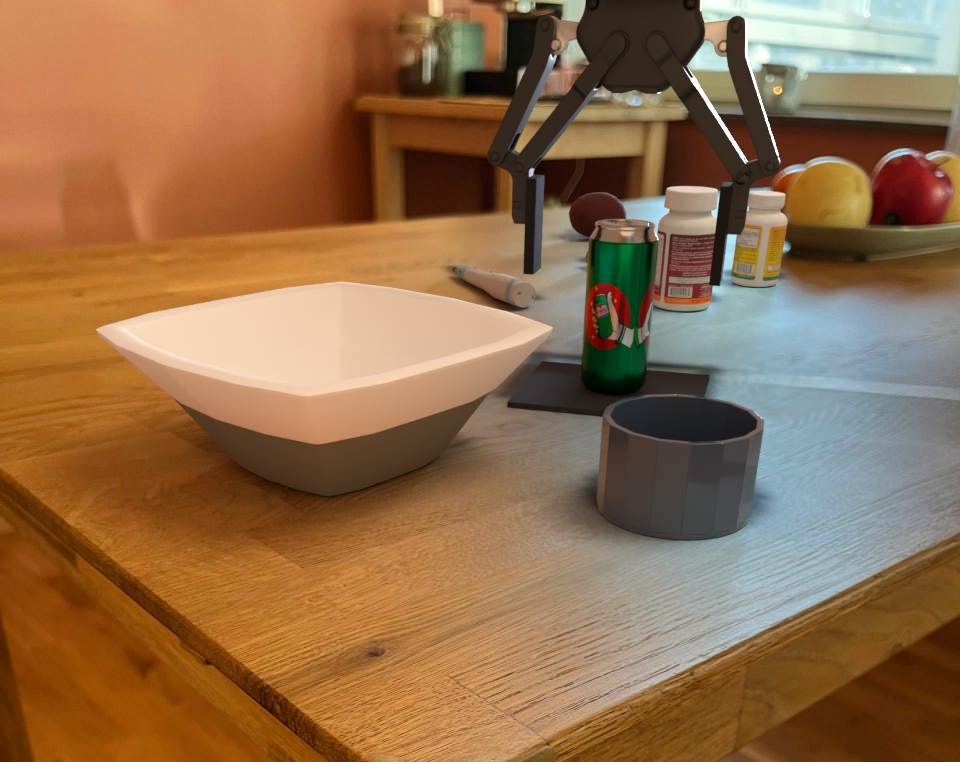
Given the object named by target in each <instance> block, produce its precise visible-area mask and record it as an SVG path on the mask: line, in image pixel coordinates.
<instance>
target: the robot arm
mask: <svg viewBox="0 0 960 762" xmlns="http://www.w3.org/2000/svg"><path fill="white" fill-rule="evenodd" d="M748 28H749V26H748V21H747V20H746V18H744V17H743V16H741V15H735V16H732V17H730V19H725V20H716V21H708V22H705V20H704V16H703V13H702V0H585V4H584V9H583V13H582V15H581V17H580V20H579V21H573V20H566V19H560V18H559V17H557V16H554V15H549V14H545V15H544V14H543V15H541V16H540V17H539V18H538V19H537V22H536V25H535V34H534V41H533V49H532V54H531V56H530V58H529V60H528V63H527V64H526V67H525V69H524V72H523V75H522V76H521V79H520V81H519V83H518V85H517V87H516V89H515V92H514V93H513V96H512V98H511V101H510V102H509V105H508V107H507V108H506V111H505V114H504V115H503V117H502V120H501V122H500V125H499V126H498V129H497V131H496V133H495V135H494V137H493V140H492V142H491V145H490V146H489V148H488V151H487V154H486V159H487V162H488V164H490V166H493V167H498V168H500V169H503V170H504V171H506V172H508V174H509V175H510V176H511V182H512V183H511V219H512V222H513V224H514V225H524V238H523V239H524V240H523V272H522V274H523V275H531V276H532V275H533V276H534V275H535V274H536V273H537V272H538V271H539V270H541V269H542V256H543V255H542V253H543V252H542V251H543V230H544V229H543V228H544V227H543V226H544V224H543V223H544V202H545V201H544V199H545V198H544V197H545V174H534V171H535V170H536V168H537V166H538V165H539V164H540V162H541V161H542V160H543V159H544V158H545V156H546V155H547V154H548V153H549V151H550V150H551V149H552V148H553V146H554V145H555V144H556V143H557V141H558V140H559V139H560V138H561V137H562V136H563V134H564V133H565V131H567V129H568V128H569V126H570V125H571V124H572V123H573V122H574V120H575V119H576V118H577V117H578V116H579V114H580V113H581V112H582V111H583V110H584V108H585V107H586V106H587V105H588V104H589V102H590V101H591V99H593V97H595V96H596V94H597V93H598V92H599V91H600V90H601V88H602V87H603V88H604V89H605V90H606V91H608V92H610V93H611V94H627V93H630V92H633V91H636V92H639V93H642V94H645V95H658V94H662V93H663V92H665V91H667V90H669V89H670V88H671V89H672V90H673V92H674V94H675V95H676V96H677V98H678V99H679V100H680V101H681V103H682V104H683V105H684V107H685V109H686V111H687V112H688V113H689V115H690V117H691V118H692V120H693V121H694V122H695V124H696V125H697V128H698V129H699V130H700V132H701V133H702V136H704V138H705V140H706V141H707V143H708V144H709V146H710V147H711V150H713V152H714V154H715V155H716V157H717V158H718V160H719V161H720V162H721V164H722V166H723V167H724V169H725V170H726V172H727V173H728V175H729V176H730V178H731V182H730V181H723V182H722V183H721V185H720V188H719V195H718V197H719V198H718V204H717V213H716V218H717V222H716V230H715V239H714V247H713V256H712V264H711V272H710V281H709V285H710V286H713V287H720V286H721V283H722V281H723V275H724V267H725V259H726V251H727V242H728V236H729V235H731V236H732V235H734V236H735V235H736V236H737V235H741V233H742V231H743V229H744V227H745V223H746V215H747V211H748V209H749V207H748V200H749V193H750V192H751V187H752V185H753V184H754V183H755V182H757V181H759V180H762V179H765V178H768V177H772V176H775V175H776V174H777V173H778V172H779V170H780V167H781V158H780V155H779V152H778V149H777V148H778V147H777V145H776V142H775V139H774V135H773V132H772V130H771V126H770V123H769V121H768V117H767V114H766V111H765V107H764V105H763V101H762V98H761V95H760V92H759V89H758V86H757V82H756V79H755V75H754V72H753V70H752V67H751V64H750V61H749V57H748V33H749V32H748V30H749V29H748ZM575 40H576V42H577V44H578V46H579V47H580V50H581V52H582V53H583V55H584V57H585V58H586V60H587V62H588V64H587V66H586V67H585V68H584V70H583V71H582V72H581V73H580V75H579V76H578V77H577V79H576V80H575V81H574V83H573V84H572V86H571V88H570V89H569V90H568V92H567V93H565V95H564V97H563V98H562V99H561V100H560V101H559V103H558V104H557V105H556V107H555V108H554V109H553V110H552V112H551V113H550V114H549V115H548V117H547V118H546V119H545V121H544V122H543V123H542V125H540V127H539V128H538V129H537V131H536V132H535V133H534V134H533V135H532V137H531V138H530V139H529V140H528V142H527V143H526V144H525V145H524V147H523V148H522V149H521V151H520V152H519V151H517V150H515V149H516V147H517V145H518V143H519V141H520V139H521V136H522V135H523V132H524V131H525V128H526V126H527V123H528V121H529V119H530V118H531V115H532V113H533V111H534V108H535V106H536V105H537V103H538V100H539V98H540V96H541V94H542V92H543V90H544V87H545V85H546V83H547V81H548V79H549V77H550V75H551V73H552V70H553V68H554V65H555V62H556V60H557V57H558V56H561V55H564V54H565V53H566V52H567V51H568V48H569V45H570V44H571V42H573V41H575ZM705 41H709V42H710V43H711V45H713V48H714V52H715V54H716V55H717V56H719V57H721V58H726V61H727V68H728V72H729V75H730V78H731V81H732V85H733V87H734V90H735V93H736V96H737V100H738V102H739V105H740V108H741V111H742V114H743V117H744V120H745V121H744V122H745V124H746V127H747V130H748V133H749V136H750V140H751V142H752V145H753V149H754V151H755V155H756V158H755V159H752V160H749V161H748V160H747V158H746V156H745V155H744V154H743V152H742V150H741V148H740V147H739V146H738V144H737V142H736V141H735V140H734V138H733V136H732V135H731V133H730V131H729V130H728V128H727V127H726V125H725V124H724V122H723V121H722V119H721V117H720V115H719V114H718V113H717V111H716V110H715V108H714V106H713V105H712V103H711V102H710V100H709V99H708V97H707V96H706V94H705V92H704V91H703V89H702V88H701V86H700V83H699V82H698V80H697V78H696V77H695V76H694V74H693V73H692V71H691V70H690V68H689V66H688V65H689V64H690V62H691V61H692V60H693V58H694V57H695V56H696V54H697V53H698V51H699V50H700V49H701V48H702V46H703V45H704V42H705Z"/></svg>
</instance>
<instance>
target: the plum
mask: <svg viewBox="0 0 960 762" xmlns="http://www.w3.org/2000/svg"><path fill="white" fill-rule="evenodd" d="M568 218H569V222H570V225H571V228H572V229H573V230H574V231H575V232H576V233H577V234H579V235H581V236H584V237H587V238H589V237H590V236H591V234H592V233H593V231H594V230H595V228H596V226H595V222H597V221H600V220H605V219H627V211H626V208H625V206H624V204H623V203H622V201H621V200H620V199H618V198H617V196H615V195H613V194H611V193H608V192H604V191H603V192H602V191H601V192H600V191H595V192H591V193H586V194H584V195H581V196H579V197H578V198H577V199H575V201H574V202H573V203H571V205H570V208H569V211H568Z"/></svg>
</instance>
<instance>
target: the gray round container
mask: <svg viewBox="0 0 960 762" xmlns="http://www.w3.org/2000/svg"><path fill="white" fill-rule="evenodd" d="M764 428H765V420H764V418H762V416H760V415H759V413H757V412H756V411H754V410H753V409H751V408H748V407H745V406H743V405H741V404H738V403H735V402H732V401H729V400H724V399H718V398H715V397H709V396H705V395H704V396H694V395H682V394H655V395H643V396H637V397H631V398H625V399H622V400H620V401H617V402H615V403H613V404H611V405H609V406H607V408H606V410H605V412H604V414H603V416H602V421H601V434H600V446H599V460H598V474H597V485H596V486H597V489H596V502H597V510H598V512H599V513H600V514H601V515H602V517H604V518H605V520H607V521H609V522H610V523H611V524H614V525H615V526H617V527H619V528H620V529H621V528H622V529H624V530H626V531H630V532H632V533H636V534H639V535H643V536H649V537H653V538H657V539H658V538H659V539H665V540H667V539H668V540H680V541H692V540H693V541H695V540H696V541H697V540H709V539H714V538H715V539H716V538H720V537H724V536H727V535H730V534H733V533H735V532H737V531H739V530H740V529H742V528H744V527H745V526H746V525H747V523H749V520H750V518H751V512H752V505H753V500H754V493H755V486H756V480H757V474H758V468H759V462H760V461H759V460H760V454H761V450H762V449H761V448H762V441H763V437H764V436H763V435H764Z"/></svg>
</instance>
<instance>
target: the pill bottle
mask: <svg viewBox="0 0 960 762" xmlns="http://www.w3.org/2000/svg"><path fill="white" fill-rule="evenodd" d="M718 197H719V190H718V189H717V188H714V187H708V186H696V185H695V186H694V185H676V186H675V185H674V186H669V187H667V188H666V189H665V196H664V198H665V199H664V203H663V207H664V208H665V209H668V210H669V211H668V213H666V214H664V215H663V216H662V217H661V218H660V219H659V221H658V225H657V232H656V235H657V237H658V239H659V246H658V257H657V267H656V278H655V289H654V300H653V306H655V307H656V308H659V309H660V310H661V309H662V310H665V311H670V312H697V311H704V310H706V309H708V308H710V306H711V303H712V297H713V289H714V286H710V285H709V281H710V272H711V264H712V256H713V247H714V239H715V230H716V222H717V216H715V215H713V214H712V211H715V210H716V209H717V210H718V200H719V198H718Z"/></svg>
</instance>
